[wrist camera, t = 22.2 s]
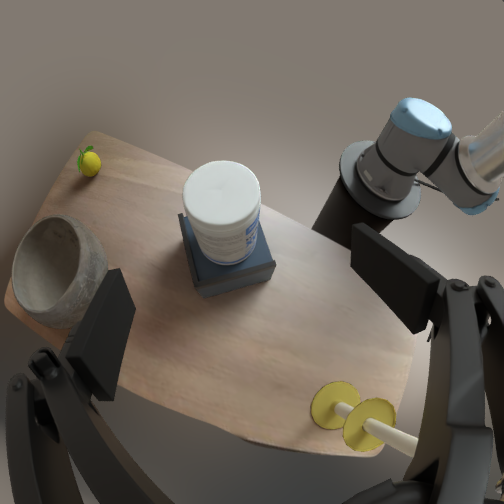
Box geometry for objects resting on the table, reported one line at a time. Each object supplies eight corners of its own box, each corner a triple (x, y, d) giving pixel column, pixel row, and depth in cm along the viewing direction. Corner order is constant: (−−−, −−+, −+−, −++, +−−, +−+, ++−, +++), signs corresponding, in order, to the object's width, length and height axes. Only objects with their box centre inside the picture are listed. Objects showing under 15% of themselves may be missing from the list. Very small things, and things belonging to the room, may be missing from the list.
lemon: (91, 188, 57) (73, 165, 47) (82, 177, 58) (64, 154, 48) (110, 169, 59) (95, 144, 49) (100, 159, 60) (85, 135, 50)
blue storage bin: (250, 219, 55) (251, 194, 46) (270, 279, 51) (276, 264, 42) (187, 236, 53) (177, 214, 44) (203, 298, 49) (194, 288, 40)
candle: (300, 416, 42) (379, 501, 12) (329, 372, 45) (446, 397, 15) (341, 436, 41) (442, 509, 10) (368, 394, 44) (494, 423, 13)
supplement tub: (260, 263, 43) (268, 223, 30) (200, 270, 43) (181, 233, 29) (252, 209, 47) (255, 155, 33) (197, 215, 46) (181, 163, 32)
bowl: (76, 224, 53) (42, 192, 39) (140, 263, 51) (108, 234, 37) (36, 300, 47) (-6, 284, 33) (95, 352, 44) (50, 350, 30)
